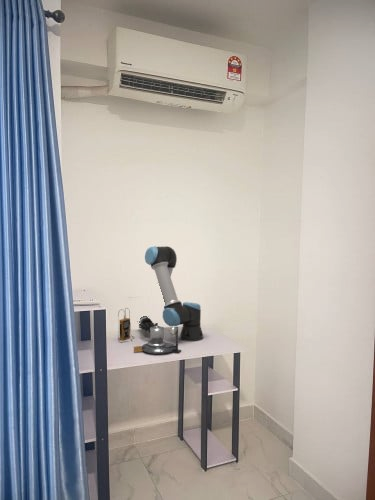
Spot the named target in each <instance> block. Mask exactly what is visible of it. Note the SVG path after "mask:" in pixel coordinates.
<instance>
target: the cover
mask: <svg viewBox="0 0 375 500" xmlns="http://www.w3.org/2000/svg"><path fill="white" fill-rule="evenodd" d="M164 330H165V329H164V326H160V325H158V326H154V327H151V328H150V332H149V340H148V341H147V343H148V346H150V347H163V346H165V345H166V342H167V341H166V340H165V339H164Z"/></svg>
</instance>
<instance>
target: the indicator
mask: <svg viewBox="0 0 375 500" xmlns="http://www.w3.org/2000/svg"><path fill="white" fill-rule="evenodd" d="M167 332H170V336H173V337H174V336H175V346H176V349H175V350H174V351H172V352H171V353H172V354H180V353H181V352H182V350H181V349H179V327H178V326H171V329H169V330H168V331H167Z"/></svg>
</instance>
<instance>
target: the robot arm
mask: <svg viewBox="0 0 375 500" xmlns="http://www.w3.org/2000/svg"><path fill="white" fill-rule="evenodd" d="M144 260H145V263H146V264H147V265H149V266H150V268H151V270H153V271H154V273H155V276H156V279H157V284H158V283H159V286H160V289H161V292H162V295H163V299H164V302H165V306H164V308H163V310H162V319H163V321H164V323H165V324H166V325H167V326H169V327H178V326H182V327H181V330H180V333H179V338H180V339H181V340H182V341H187V342H189V341H190V342H194V341H201V340H203V339H204V334H203V330H202V327H201V320H202V319H201V316H202V315H201V313H202V310H201V309H202V308H201V304H199V303H197V302H196V303H195V302H189V301H187V302H183V303H182V301H181V300H179V299H178V296H177V294H176V290H175V286H174V284H173V280H172V273H173V269H174V268H176V265H177V262H178V261H177V254H176V251H175V250H174V248H172V247H171V246H150V247H148V248H147V250H146V251H145V254H144ZM148 317H149V316H148ZM148 317H147V316H143V317H141V318H140V321H139V323H140V324H139V323H138V329H140V330H143V331H145V332H148V333H150V328H151V327H154V326H159V325H158V323H159V322H155V323H154V322H153V320H152V319H151V318H150V317H149V318H148Z"/></svg>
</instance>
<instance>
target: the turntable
mask: <svg viewBox="0 0 375 500" xmlns="http://www.w3.org/2000/svg"><path fill="white" fill-rule="evenodd" d="M165 342H166V345H165V346H163V347H150V346H148V342H147V343H144V344H142V345H137V346H133V352H134V353H140V352H144V353H147V354H155V355H159V354H161V355H163V354H169V353H172V351H174V350H175V349H176V344H174V343H171V342H167V341H165Z"/></svg>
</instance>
